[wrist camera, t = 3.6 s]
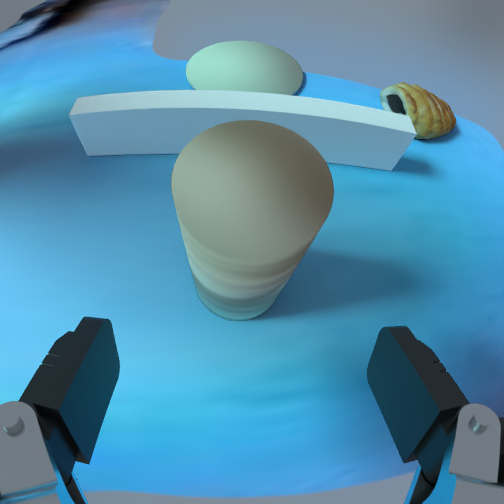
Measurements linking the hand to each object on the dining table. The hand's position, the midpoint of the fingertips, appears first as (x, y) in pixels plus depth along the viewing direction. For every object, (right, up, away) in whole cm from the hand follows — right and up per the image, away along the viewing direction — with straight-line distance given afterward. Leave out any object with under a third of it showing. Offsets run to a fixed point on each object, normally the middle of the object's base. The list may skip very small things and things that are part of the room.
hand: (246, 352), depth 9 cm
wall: (-1, +11, +16) cm, 20 cm away
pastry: (+18, +17, +21) cm, 32 cm away
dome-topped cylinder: (-1, +1, +12) cm, 12 cm away
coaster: (-1, +21, +20) cm, 30 cm away
